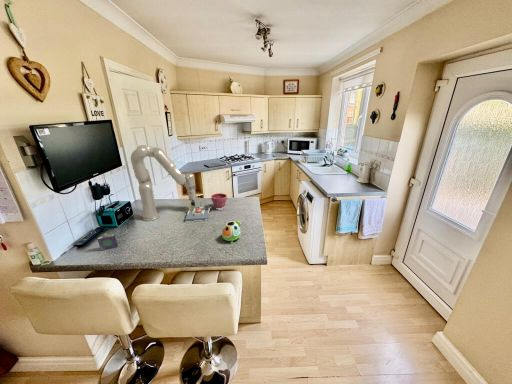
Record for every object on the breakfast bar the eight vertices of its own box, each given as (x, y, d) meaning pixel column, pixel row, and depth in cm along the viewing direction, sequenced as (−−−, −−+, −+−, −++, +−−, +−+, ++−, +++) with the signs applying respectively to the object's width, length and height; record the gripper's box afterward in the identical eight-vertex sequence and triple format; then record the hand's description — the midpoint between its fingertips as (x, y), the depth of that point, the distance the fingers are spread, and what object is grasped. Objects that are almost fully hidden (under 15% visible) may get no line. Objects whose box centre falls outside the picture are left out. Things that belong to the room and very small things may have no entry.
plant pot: (229, 206, 193) (228, 193, 189) (224, 212, 181) (223, 199, 176) (215, 204, 196) (214, 192, 192) (209, 210, 184) (208, 197, 179)
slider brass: (190, 210, 177) (189, 206, 175) (190, 209, 180) (190, 205, 178) (193, 210, 177) (193, 206, 176) (194, 209, 180) (193, 205, 179)
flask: (100, 251, 127) (95, 236, 123) (101, 248, 129) (97, 234, 125) (117, 247, 131) (113, 233, 127) (118, 245, 133) (114, 231, 129)
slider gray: (205, 210, 178) (204, 205, 177) (205, 208, 181) (205, 204, 180) (208, 209, 179) (208, 205, 177) (208, 208, 181) (208, 204, 180)
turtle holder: (247, 233, 147) (247, 218, 143) (233, 245, 132) (232, 230, 128) (233, 228, 153) (233, 214, 149) (218, 240, 138) (217, 225, 134)
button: (195, 213, 169) (195, 211, 168) (196, 210, 173) (196, 208, 172) (200, 212, 169) (200, 210, 169) (201, 210, 173) (201, 208, 173)
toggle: (199, 206, 182) (199, 201, 182) (200, 206, 183) (199, 201, 184) (201, 206, 182) (201, 201, 182) (201, 206, 183) (201, 201, 184)
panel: (185, 221, 163) (184, 217, 162) (191, 209, 186) (190, 205, 184) (207, 220, 165) (207, 215, 164) (210, 208, 188) (210, 204, 186)
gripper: (193, 190, 171) (196, 209, 177) (196, 184, 185) (198, 202, 191) (184, 190, 170) (187, 209, 176) (188, 185, 184) (190, 203, 190)
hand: (193, 206), depth 184 cm, fingers closed
